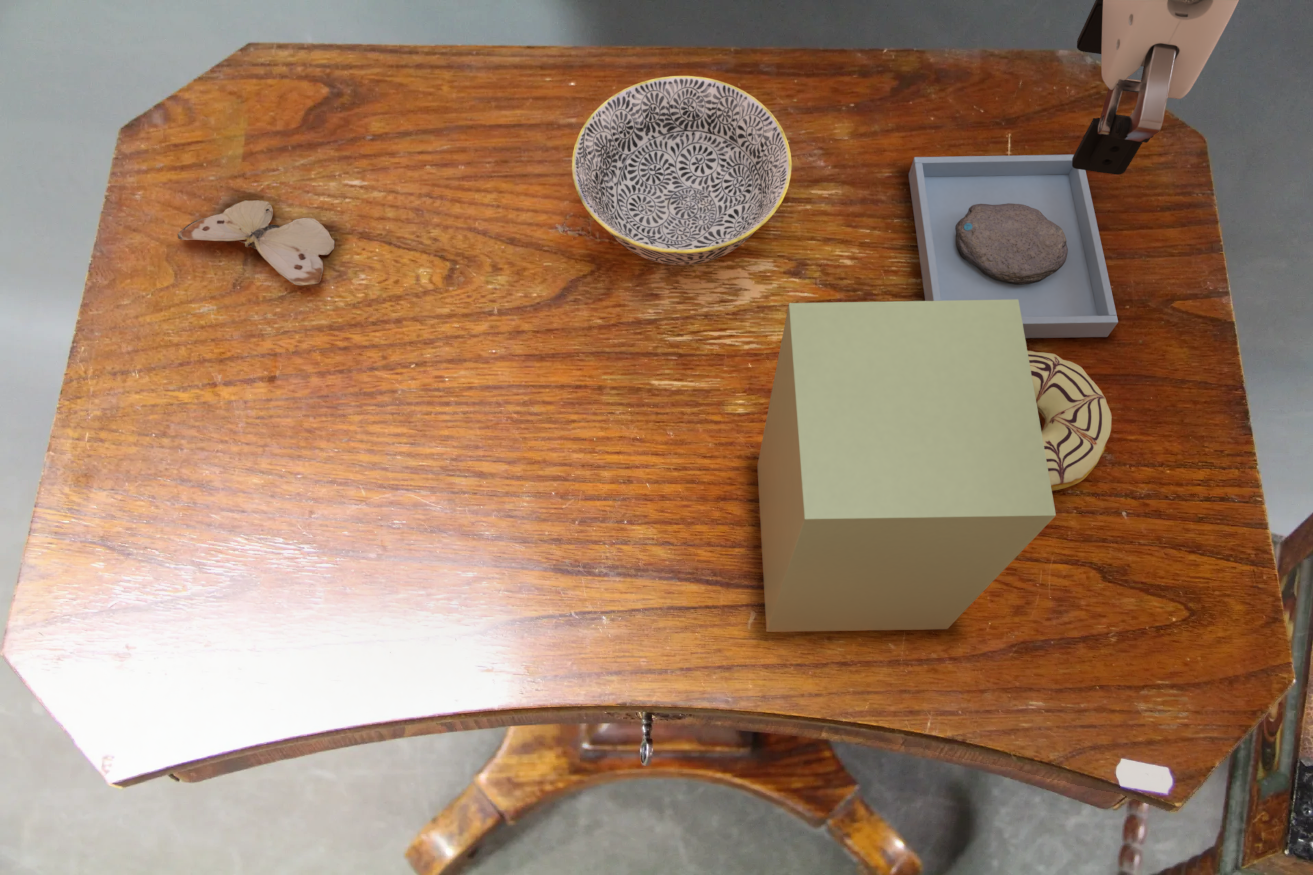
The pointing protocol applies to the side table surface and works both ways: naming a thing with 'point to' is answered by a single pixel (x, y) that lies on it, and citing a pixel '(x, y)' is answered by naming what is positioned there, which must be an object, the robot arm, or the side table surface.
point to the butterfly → (269, 238)
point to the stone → (1011, 243)
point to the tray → (1039, 181)
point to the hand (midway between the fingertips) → (1098, 107)
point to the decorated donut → (1069, 418)
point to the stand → (897, 463)
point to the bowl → (681, 168)
